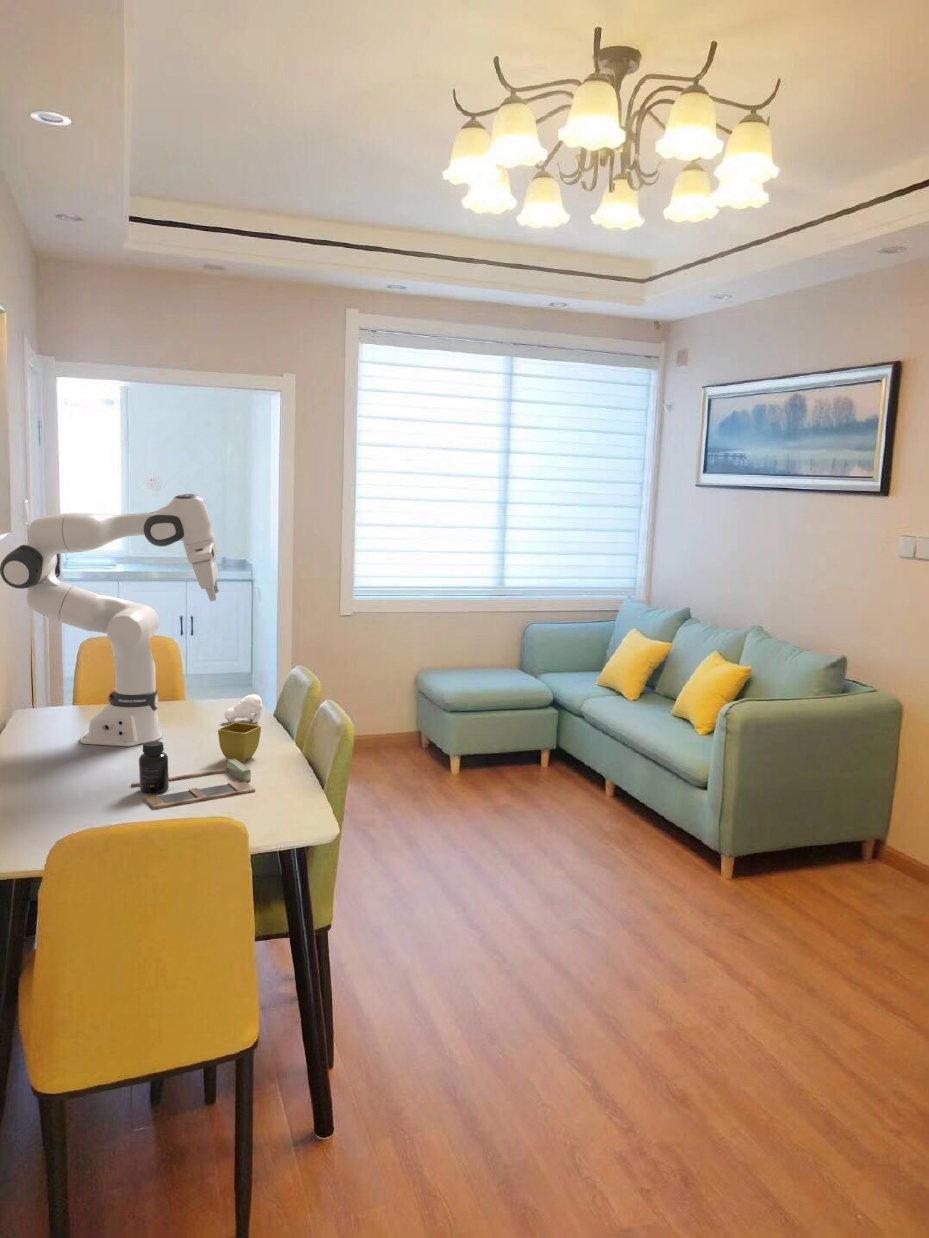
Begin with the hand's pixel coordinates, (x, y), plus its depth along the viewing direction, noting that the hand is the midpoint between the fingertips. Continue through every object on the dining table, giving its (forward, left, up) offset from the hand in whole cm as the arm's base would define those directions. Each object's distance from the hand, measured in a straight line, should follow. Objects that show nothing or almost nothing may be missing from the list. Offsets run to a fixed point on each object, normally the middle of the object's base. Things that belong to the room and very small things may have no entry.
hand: (214, 596), depth 263 cm
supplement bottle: (-7, -43, -43) cm, 61 cm away
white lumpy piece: (+5, +22, -43) cm, 49 cm away
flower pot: (+10, -17, -43) cm, 47 cm away
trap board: (+3, -42, -43) cm, 60 cm away
